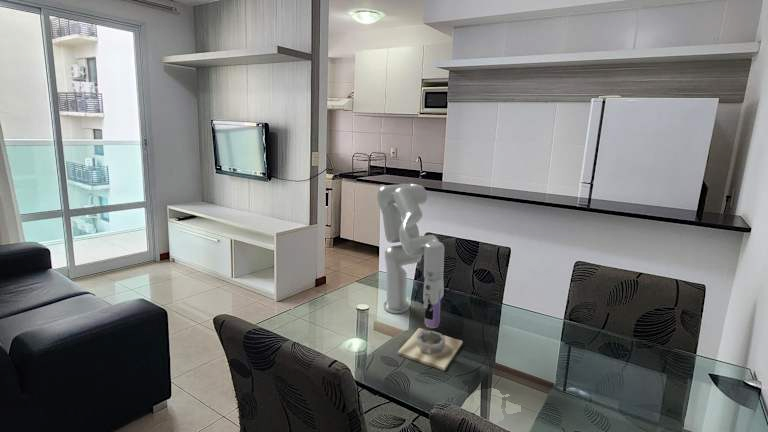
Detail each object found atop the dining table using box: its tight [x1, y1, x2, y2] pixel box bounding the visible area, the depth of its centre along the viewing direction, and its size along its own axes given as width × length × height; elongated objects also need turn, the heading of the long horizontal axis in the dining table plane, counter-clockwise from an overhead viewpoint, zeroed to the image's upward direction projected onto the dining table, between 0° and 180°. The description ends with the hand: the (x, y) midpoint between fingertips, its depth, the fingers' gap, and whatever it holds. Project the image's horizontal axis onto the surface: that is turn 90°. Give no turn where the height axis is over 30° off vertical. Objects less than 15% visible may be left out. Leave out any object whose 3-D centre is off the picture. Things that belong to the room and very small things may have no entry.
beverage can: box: [424, 293, 441, 329], centre depth 164 cm, size 6×6×15 cm
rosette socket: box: [397, 327, 464, 371], centre depth 169 cm, size 20×20×5 cm
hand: (432, 314), depth 164 cm, fingers closed on beverage can, 5 cm apart
